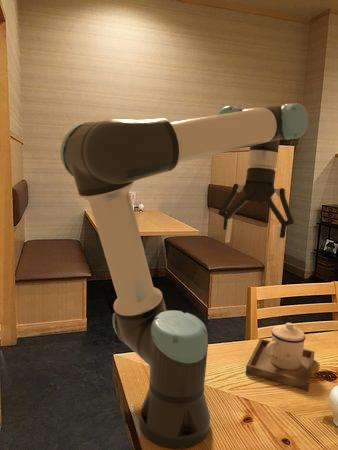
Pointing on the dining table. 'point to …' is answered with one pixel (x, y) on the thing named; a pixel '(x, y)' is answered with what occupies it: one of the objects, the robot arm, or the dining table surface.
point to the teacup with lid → (286, 347)
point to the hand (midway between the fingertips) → (251, 245)
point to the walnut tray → (266, 370)
